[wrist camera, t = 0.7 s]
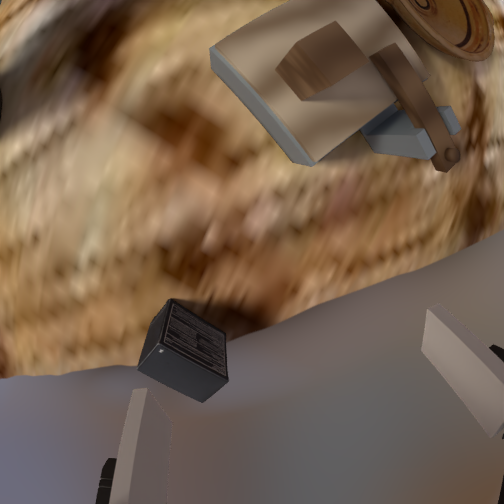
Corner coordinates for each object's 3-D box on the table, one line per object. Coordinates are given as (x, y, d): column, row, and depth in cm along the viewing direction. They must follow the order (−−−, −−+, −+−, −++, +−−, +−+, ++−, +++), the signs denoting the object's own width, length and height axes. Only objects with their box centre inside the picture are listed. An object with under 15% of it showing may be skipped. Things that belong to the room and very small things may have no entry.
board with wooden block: (214, 48, 22) (213, 8, 14) (347, -21, 20) (383, -56, 11) (312, 161, 28) (351, 169, 19) (424, 76, 25) (476, 67, 16)
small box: (147, 324, 41) (133, 370, 31) (169, 296, 40) (157, 340, 30) (203, 357, 44) (201, 405, 35) (227, 333, 43) (231, 381, 33)
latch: (368, 56, 22) (384, 49, 19) (385, 46, 22) (401, 39, 19) (435, 170, 27) (453, 174, 24) (449, 157, 27) (466, 160, 24)
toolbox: (211, 68, 30) (208, 33, 19) (326, 0, 27) (361, -38, 16) (319, 197, 37) (359, 220, 26) (414, 119, 34) (470, 119, 23)
